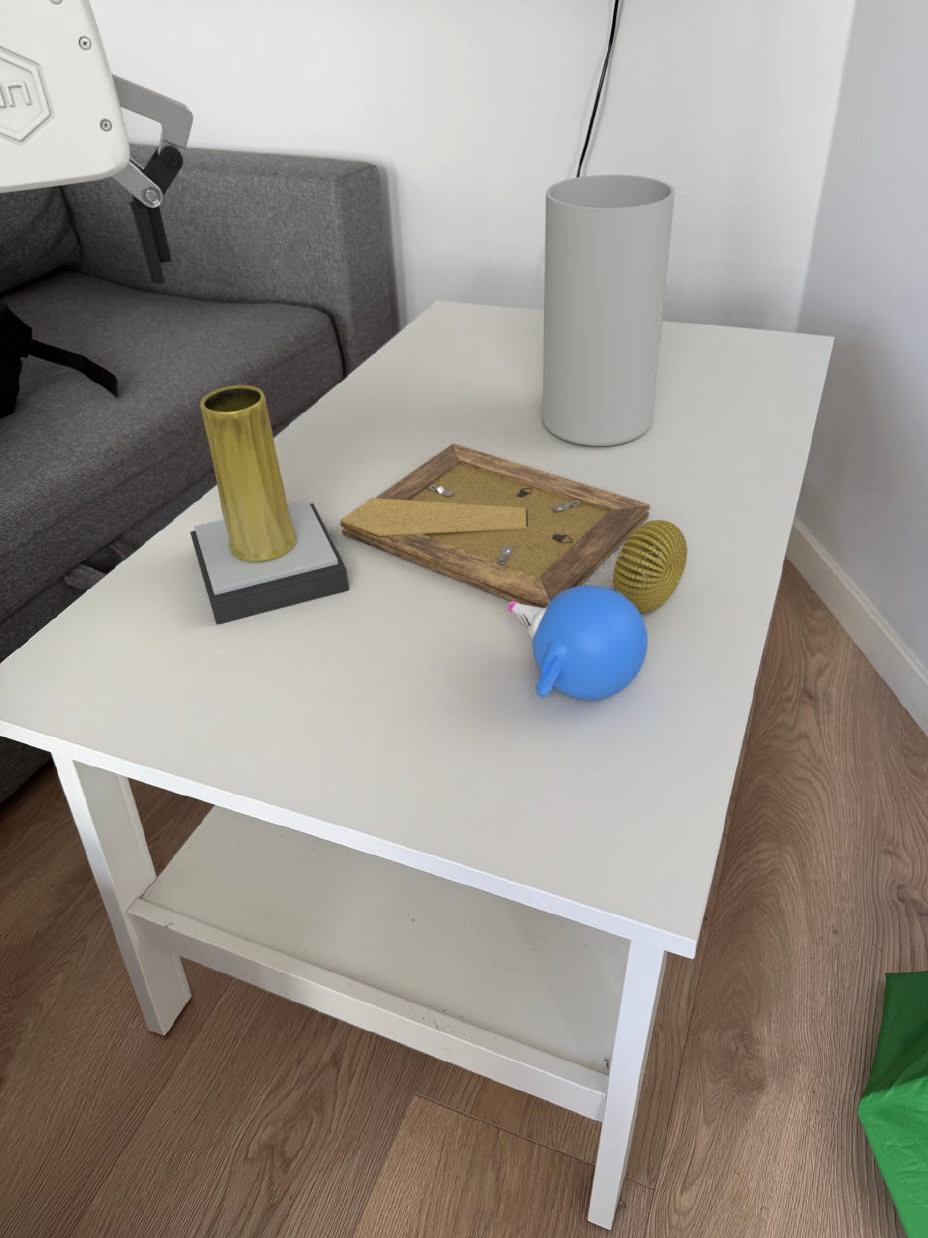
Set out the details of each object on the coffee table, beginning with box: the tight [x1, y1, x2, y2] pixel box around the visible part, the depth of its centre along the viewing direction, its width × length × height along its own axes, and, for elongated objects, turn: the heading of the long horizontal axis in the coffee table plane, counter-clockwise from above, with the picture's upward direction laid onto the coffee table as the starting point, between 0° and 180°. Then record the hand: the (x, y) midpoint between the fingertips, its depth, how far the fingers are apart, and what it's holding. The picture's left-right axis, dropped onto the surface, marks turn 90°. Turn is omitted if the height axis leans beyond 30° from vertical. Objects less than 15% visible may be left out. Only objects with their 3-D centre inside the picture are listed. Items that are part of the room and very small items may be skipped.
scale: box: [189, 499, 350, 625], centre depth 84 cm, size 12×12×3 cm
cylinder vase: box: [542, 174, 676, 447], centre depth 98 cm, size 12×12×25 cm
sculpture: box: [612, 519, 688, 614], centre depth 77 cm, size 8×4×8 cm, turn 140°
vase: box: [199, 384, 297, 562], centre depth 79 cm, size 6×6×14 cm
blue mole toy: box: [507, 584, 649, 701], centre depth 70 cm, size 12×12×8 cm
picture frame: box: [340, 443, 651, 608], centre depth 89 cm, size 19×2×24 cm
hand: (69, 290), depth 52 cm, fingers open, 9 cm apart
